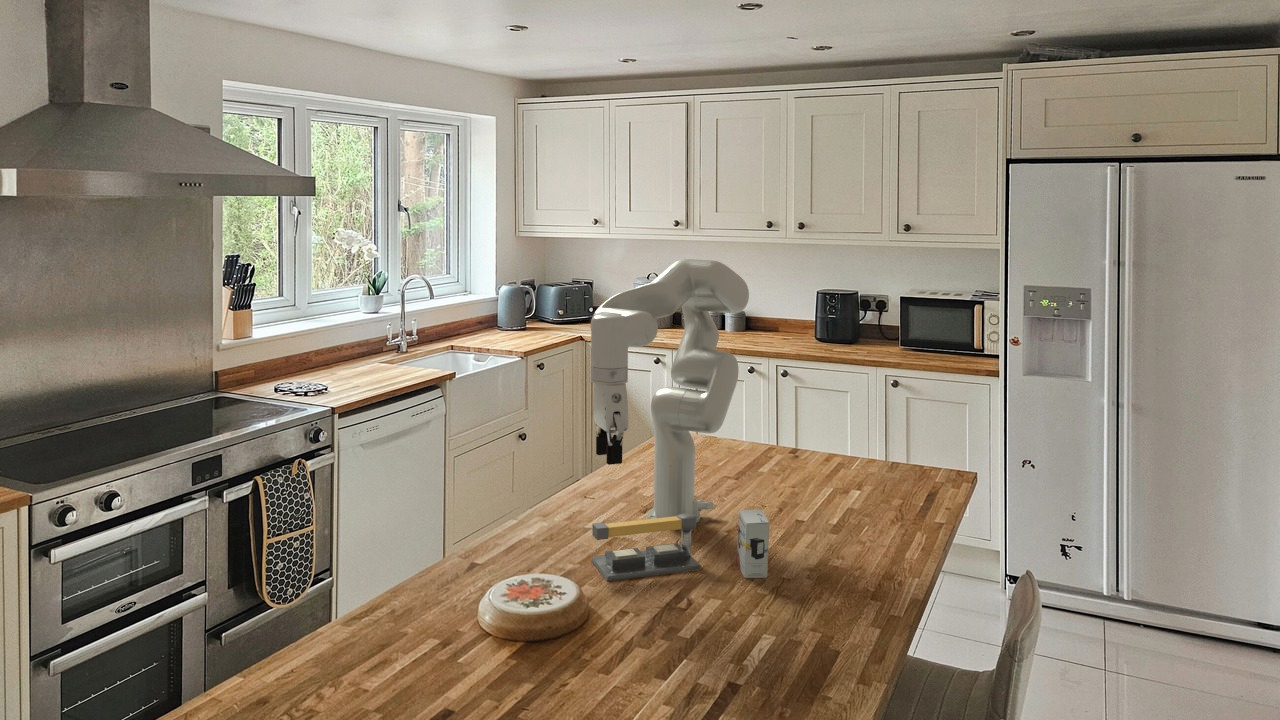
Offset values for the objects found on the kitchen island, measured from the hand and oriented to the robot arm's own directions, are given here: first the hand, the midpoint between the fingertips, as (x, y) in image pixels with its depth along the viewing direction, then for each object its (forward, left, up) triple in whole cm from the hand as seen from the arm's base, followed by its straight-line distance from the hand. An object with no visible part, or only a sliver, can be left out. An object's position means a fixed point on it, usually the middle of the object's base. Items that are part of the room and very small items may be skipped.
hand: (608, 458), depth 202 cm
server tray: (-6, +7, -22) cm, 23 cm away
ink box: (-26, +16, -22) cm, 37 cm away
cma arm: (-6, +7, -14) cm, 17 cm away
